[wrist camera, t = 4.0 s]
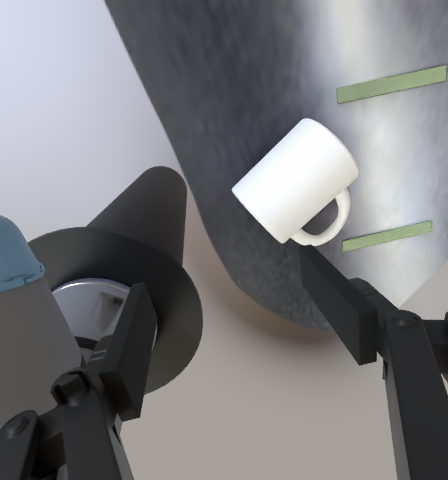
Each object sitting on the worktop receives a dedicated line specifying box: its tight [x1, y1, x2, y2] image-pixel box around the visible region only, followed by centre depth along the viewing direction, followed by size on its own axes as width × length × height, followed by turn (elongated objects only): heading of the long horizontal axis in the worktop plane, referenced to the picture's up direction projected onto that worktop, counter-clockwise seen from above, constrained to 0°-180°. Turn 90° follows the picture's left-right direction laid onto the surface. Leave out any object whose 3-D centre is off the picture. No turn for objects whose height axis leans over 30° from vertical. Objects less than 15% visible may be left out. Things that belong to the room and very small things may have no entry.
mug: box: [232, 119, 359, 246], centre depth 30 cm, size 12×10×8 cm
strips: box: [337, 65, 447, 252], centre depth 34 cm, size 12×20×1 cm, turn 11°
